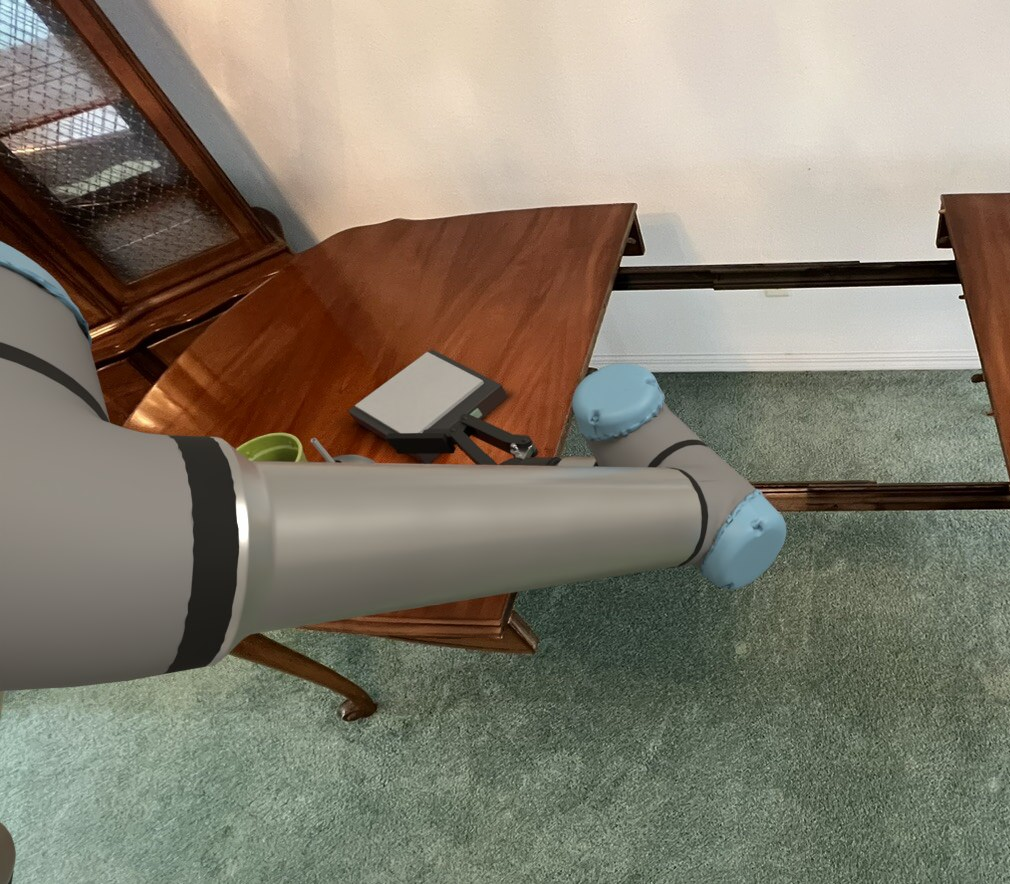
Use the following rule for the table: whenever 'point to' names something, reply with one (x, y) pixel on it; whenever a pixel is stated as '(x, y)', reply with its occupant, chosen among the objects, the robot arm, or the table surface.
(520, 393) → the table surface
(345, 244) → the table surface
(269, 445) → the plant pot
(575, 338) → the table surface
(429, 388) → the scale
